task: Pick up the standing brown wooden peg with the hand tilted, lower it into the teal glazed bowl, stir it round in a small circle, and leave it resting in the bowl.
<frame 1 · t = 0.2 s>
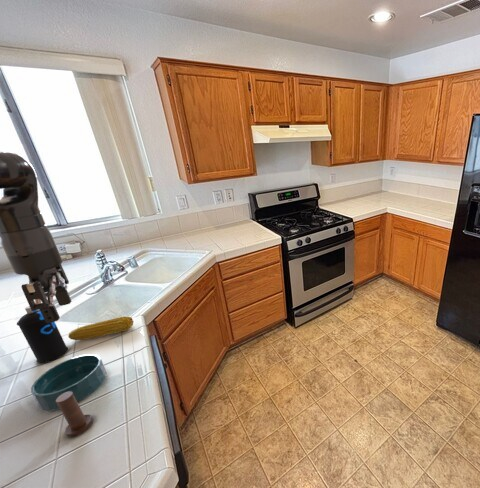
hand: (60, 312, 62), 31 cm above the countertop, tool pointing down, fingers open, 8 cm apart
bowl: (75, 388, 79), on the countertop
food: (104, 335, 103), on the countertop
brown wooden peg: (80, 427, 67), on the countertop
aerosol can: (53, 355, 94), on the countertop
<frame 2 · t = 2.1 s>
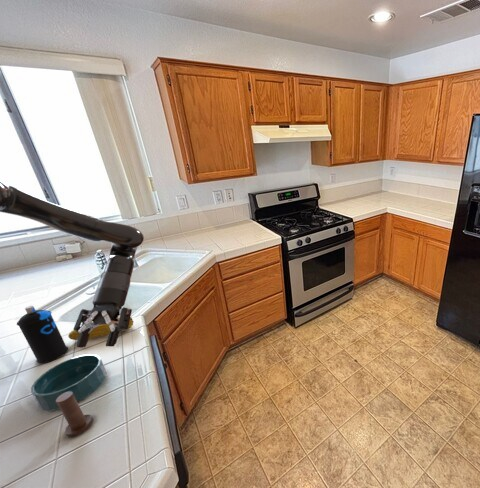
hand: (95, 346, 72), 16 cm above the countertop, tool tilted 45°, fingers open, 8 cm apart
nothing on the countertop moved.
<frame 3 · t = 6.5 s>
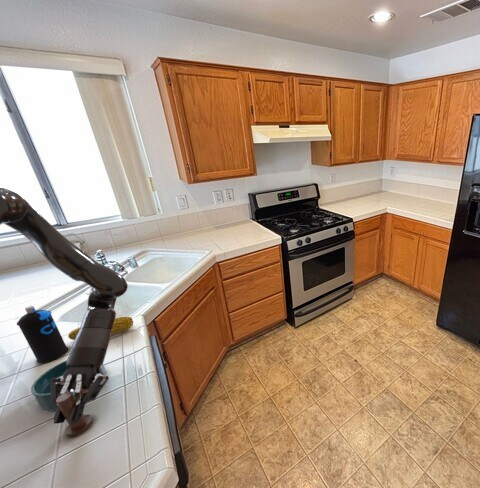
hand: (66, 422, 64), 5 cm above the countertop, tool tilted 45°, fingers closed on brown wooden peg, 3 cm apart
brown wooden peg: (80, 427, 67), on the countertop, touching gripper
everything else where it was.
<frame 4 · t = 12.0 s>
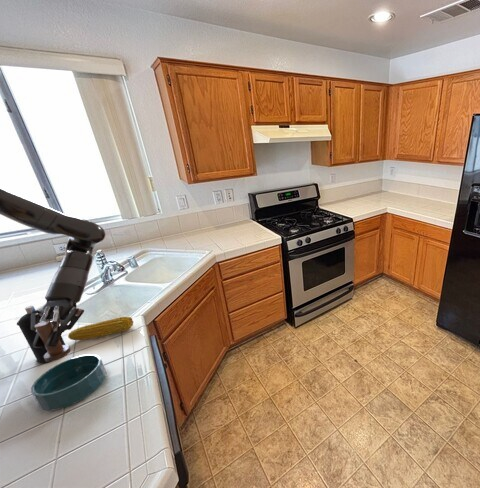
hand: (44, 346, 71), 18 cm above the countertop, tool tilted 45°, fingers closed on brown wooden peg, 3 cm apart
brown wooden peg: (58, 354, 74), point 13 cm above the countertop, touching gripper
everything else where it was.
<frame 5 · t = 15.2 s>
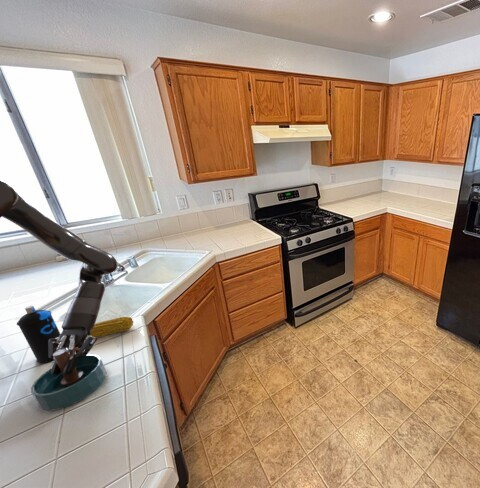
hand: (61, 373, 76), 7 cm above the countertop, tool tilted 45°, fingers closed on brown wooden peg, 3 cm apart
brown wooden peg: (73, 380, 79), point 2 cm above the countertop, touching gripper
everything else where it was.
when the fingers open (5 cm above the countertop, at t = 17.4 s): brown wooden peg stays where it is, resting on bowl.
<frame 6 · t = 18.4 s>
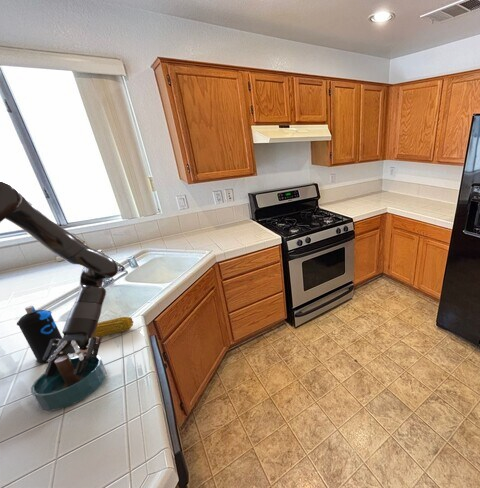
hand: (63, 375, 76), 6 cm above the countertop, tool tilted 45°, fingers open, 8 cm apart
brown wooden peg: (75, 386, 79), point 1 cm above the countertop, touching bowl
everything else where it was.
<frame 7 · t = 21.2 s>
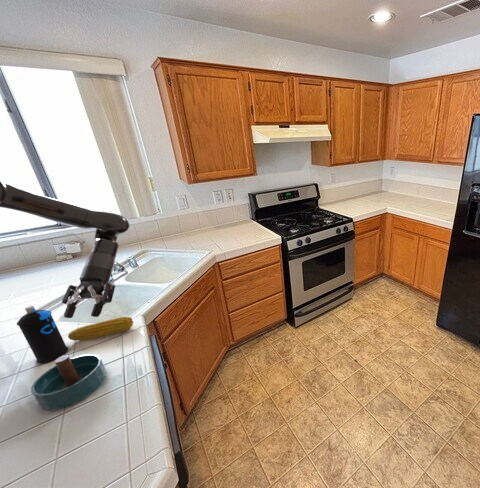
hand: (81, 317, 82), 19 cm above the countertop, tool tilted 45°, fingers open, 8 cm apart
nothing on the countertop moved.
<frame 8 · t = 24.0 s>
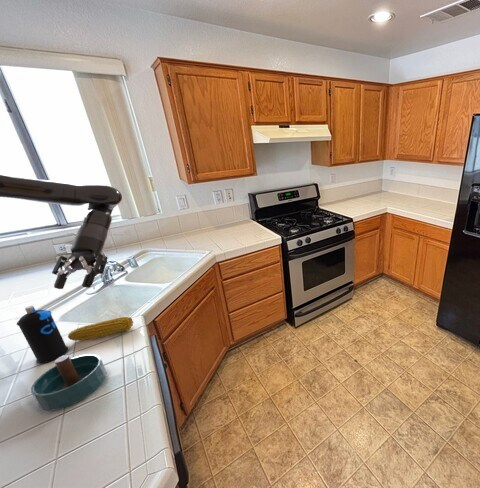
hand: (72, 287, 79), 29 cm above the countertop, tool tilted 45°, fingers open, 8 cm apart
nothing on the countertop moved.
at the end: brown wooden peg inside the target area in the bowl (0.1 cm from its centre), point 0.6 cm above the bowl's base; the gripper is holding nothing; brown wooden peg moved 17.8 cm from its start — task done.
